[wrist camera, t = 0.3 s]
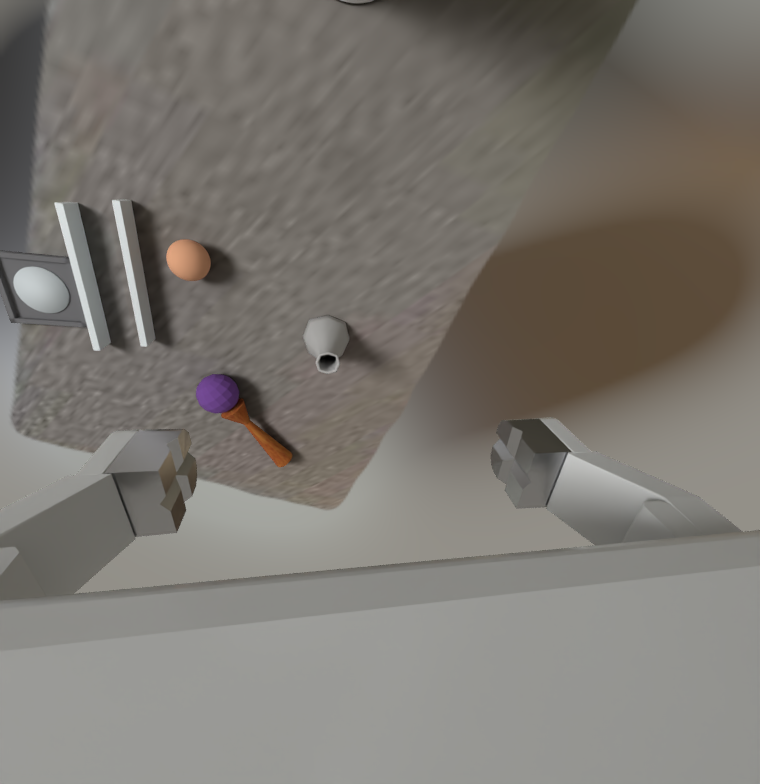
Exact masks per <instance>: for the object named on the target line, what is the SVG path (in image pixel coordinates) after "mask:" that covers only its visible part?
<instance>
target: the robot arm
mask: <svg viewBox="0 0 760 784" xmlns="http://www.w3.org/2000/svg"><path fill="white" fill-rule="evenodd" d="M341 1H344V2H349V3H367V2H371V1H374V0H341ZM496 433H497V435H498V437H499V440H498V441H497V443H495V444H494V445H493V447H492V452H491V465H492V468H493V471H494V473H495V475H496V477H497V478H498V479H499V480H501V481H502V482H504V483H505V484H506V488H505V491H506V493H507V494H508V496H509V498H510V499H511V501H512V502H513V504H514V505H515V507H516V508H537V507H538V508H540V507H547V508H546V509H547V510H548V511H550V512H551V513H553V514H554V515H555V516H557V517H558V518H559V519H561V520H562V521H564V522H565V523H566V524H567V525H569V526H570V527H571V528H573V529H574V530H576V531H577V532H578V533H580V534H581V535H582V536H583V537H585V538H586V539H587V540H589V541H590V542H591V543H593V544H594V545H595V546H584V547H574V548H564V549H553V550H542V551H531V552H521V553H509V554H498V555H488V556H476V557H464V558H454V559H444V560H443V559H442V560H432V561H421V562H410V563H400V564H390V565H379V566H368V567H357V568H347V569H337V570H326V571H315V572H304V573H293V574H282V575H272V576H262V577H250V578H239V579H228V580H218V581H207V582H197V583H186V584H175V585H164V586H153V587H142V588H132V589H121V590H110V591H100V592H89V593H79V594H74V593H75V592H76V591H77V590H79V589H80V588H81V587H82V586H83V585H84V584H85V583H86V582H88V581H89V580H90V579H91V578H92V577H93V576H94V575H95V574H96V573H98V572H99V571H100V570H101V569H102V568H103V567H104V566H106V564H108V563H109V562H110V561H111V560H112V559H113V558H115V557H116V556H117V555H118V554H119V553H120V552H121V551H122V550H124V549H125V548H126V547H127V546H128V545H129V544H130V543H131V542H133V541H134V540H135V537H139V536H149V535H159V534H169V533H177V531H178V529H179V526H180V524H181V521H182V519H183V517H184V514H185V512H186V507H185V503H184V502H185V501H186V500H187V499H189V498H190V497H191V496H192V495H193V493H194V490H195V487H196V481H197V464H196V459H195V458H194V457H193V456H192V455H191V454H190V453H189V452H188V451H189V449H190V446H191V444H192V442H191V438H190V435H189V432H188V431H187V430H186V429H146V430H118V431H114V432H112V433H111V434H110V436H109V437H108V438H107V439H106V440H105V441H104V443H103V444H102V445H101V446H100V447H99V448H98V449H97V451H96V452H95V453H94V454H93V455H92V457H91V458H90V459H89V460H88V461H87V462H86V463H85V465H84V466H83V467H82V468H81V469H80V470H79V471H78V473H77V474H76V475H73V476H66V477H64V478H62V479H60V480H58V481H56V482H54V483H52V484H50V485H48V486H46V487H44V488H42V489H40V490H38V491H36V492H34V493H32V494H30V495H28V496H26V497H24V498H22V499H20V500H18V501H16V502H14V503H12V504H10V505H8V506H6V507H4V508H2V509H0V784H760V530H755V531H745V532H743V531H741V530H740V529H739V528H738V527H736V526H735V525H734V524H732V523H731V522H730V521H729V520H728V519H726V518H725V517H724V516H723V515H721V514H720V513H719V512H718V511H716V510H715V509H714V508H713V507H711V506H710V505H709V504H708V503H706V502H705V501H704V500H703V499H701V498H700V497H699V496H697V495H695V494H692V493H690V492H688V491H685V490H683V489H681V488H679V487H676V486H674V485H672V484H670V483H667V482H665V481H663V480H661V479H658V478H656V477H654V476H652V475H649V474H647V473H645V472H642V471H640V470H638V469H636V468H633V467H631V466H629V465H626V464H624V463H622V462H620V461H617V460H615V459H613V458H610V457H608V456H606V455H604V454H601V453H599V452H597V451H593V452H591V451H590V450H589V449H588V448H587V447H586V446H585V445H584V444H583V443H582V442H581V441H580V440H579V439H578V438H577V437H576V436H574V435H573V434H572V433H571V432H570V431H569V430H568V429H567V428H566V427H565V426H564V425H563V424H562V423H561V422H560V421H559V420H557V419H555V418H552V417H551V418H536V419H522V420H502V421H501V422H500V424H499V425H498V429H497V432H496Z"/></svg>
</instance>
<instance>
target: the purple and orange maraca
mask: <svg viewBox="0 0 760 784" xmlns="http://www.w3.org/2000/svg"><path fill="white" fill-rule="evenodd" d="M196 397H197V400H198V402H199V404H200V406H201V407H203V408H204V409H205V410H206V411H209V412H212V413H222V415H221V416H222V418H225V419H228V420H231V421H234V422H238V423H241V424H244V425H245V426H246V427H247V428H248V430H249V431H250V432H251V434H252V435H253V436H254V437H255V439H256V440H257V441H258V442H259V444H260V445H261V446H262V447H263V449H264V450H265V451H266V452H267V454H268V455H269V456H270V457H271V459H272V460H273V461H274V462H275V464H276V465H277V466H278V467H283V466H285V465H286V464H288V463H289V461H290V460H291V458H292V453H291V452H290V451H289V450H287V449H286V448H285V447H284V446H282V445H281V444H280V443H278V442H277V441H276V440H275V439H273V438H272V437H271V436H269V435H268V434H267V433H266V432H264V431H263V430H262V429H261V428H259V427H258V426H257V425H255V424H254V423H253V422H252V421H250V419H249V416H248V413H247V409H246V406H245V403H244V400H243V399H242V398H240V399H238V398H239V390H238V387H237V384H236V383H235V382H234V381H233V380H232V379H231V378H230V377H228V376H226V375H222V374H212V375H210V376H208V377H205V378H204V379H203V380H202V381H201V382H200V383H199V385H198V387H197V391H196Z"/></svg>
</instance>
